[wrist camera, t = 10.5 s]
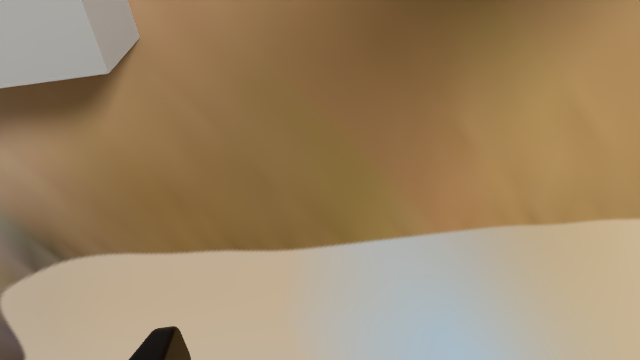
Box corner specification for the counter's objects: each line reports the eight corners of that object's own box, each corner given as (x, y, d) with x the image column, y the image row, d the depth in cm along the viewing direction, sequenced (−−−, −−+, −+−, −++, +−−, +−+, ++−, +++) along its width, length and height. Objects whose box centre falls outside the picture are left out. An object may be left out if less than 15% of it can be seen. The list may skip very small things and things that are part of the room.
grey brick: (108, -63, 17) (63, -46, 14) (140, 36, 19) (108, 73, 15) (-60, -39, 17) (-145, -16, 14) (-11, 57, 19) (-75, 98, 16)
